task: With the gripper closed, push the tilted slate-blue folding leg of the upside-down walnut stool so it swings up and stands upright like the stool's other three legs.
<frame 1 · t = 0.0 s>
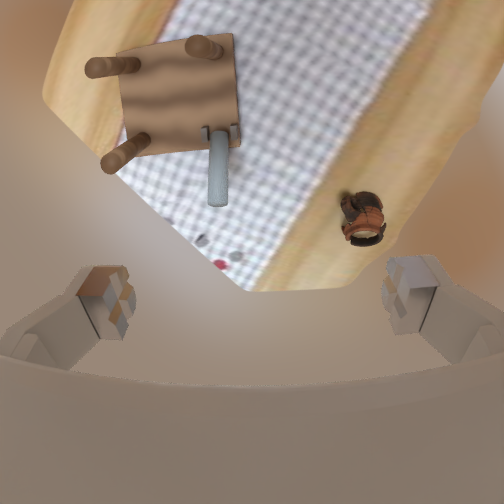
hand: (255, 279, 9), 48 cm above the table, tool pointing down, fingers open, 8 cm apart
hinged leg: (218, 167, 48), point 9 cm above the table, hinge at 45.0°
pottery mug: (356, 209, 60), on the table
stool seat: (179, 95, 49), on the table
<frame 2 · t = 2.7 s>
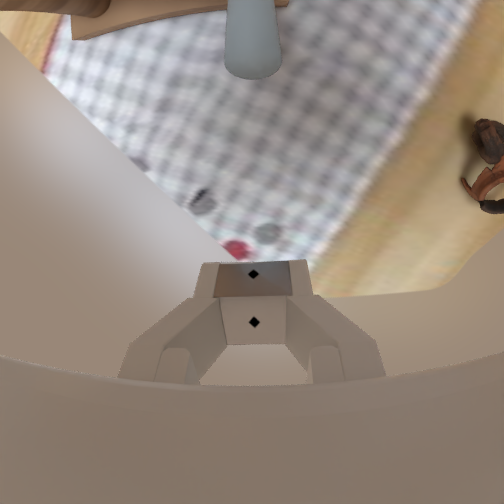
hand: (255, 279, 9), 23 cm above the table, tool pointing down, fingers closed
hinged leg: (251, 5, 16), point 9 cm above the table, hinge at 45.0°
pottery mug: (481, 152, 28), on the table
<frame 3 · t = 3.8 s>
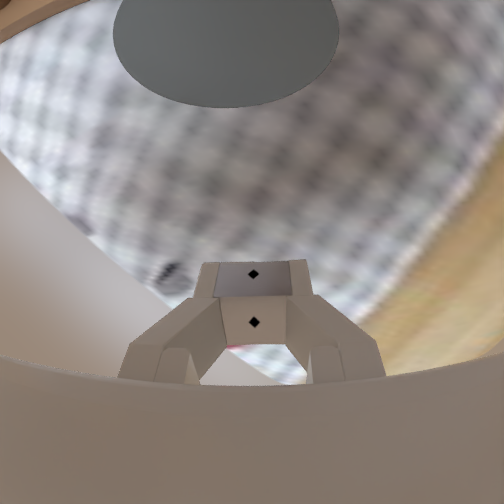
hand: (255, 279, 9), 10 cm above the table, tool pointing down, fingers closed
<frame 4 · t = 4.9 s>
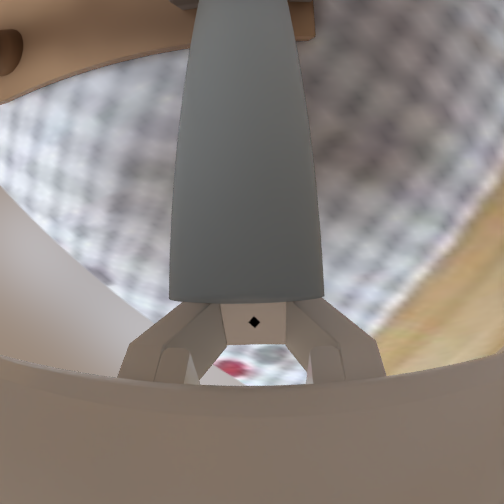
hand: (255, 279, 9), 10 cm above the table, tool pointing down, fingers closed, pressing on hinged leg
hinged leg: (243, 67, 7), point 9 cm above the table, hinge at 44.7°, touching gripper
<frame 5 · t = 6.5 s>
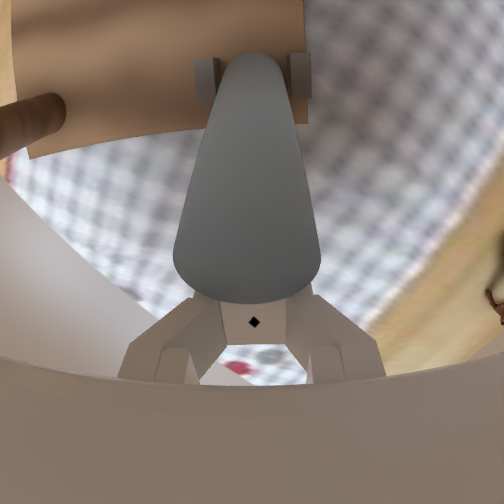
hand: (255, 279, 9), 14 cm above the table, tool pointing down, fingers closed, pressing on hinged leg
hinged leg: (251, 128, 10), point 10 cm above the table, hinge at 16.0°, touching gripper
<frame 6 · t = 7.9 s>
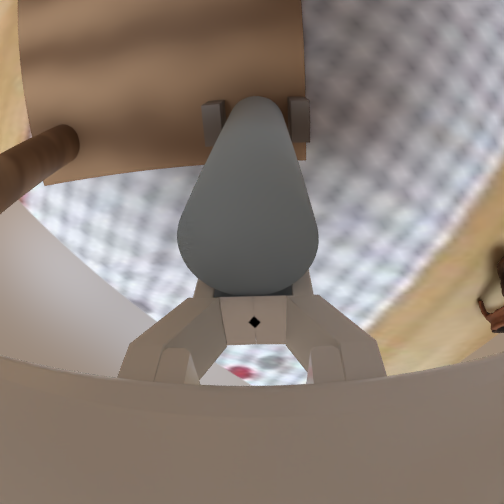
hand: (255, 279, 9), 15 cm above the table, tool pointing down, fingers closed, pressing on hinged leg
hinged leg: (253, 154, 12), point 10 cm above the table, hinge at 2.2°, touching gripper
pottery mug: (502, 271, 27), on the table
stool seat: (149, 29, 17), on the table
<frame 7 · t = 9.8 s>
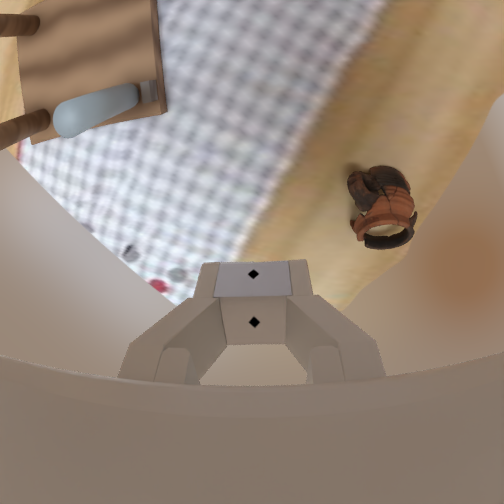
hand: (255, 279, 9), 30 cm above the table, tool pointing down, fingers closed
hinged leg: (102, 105, 24), point 10 cm above the table, hinge at 2.2°
pottery mug: (371, 194, 39), on the table
stool seat: (86, 54, 29), on the table
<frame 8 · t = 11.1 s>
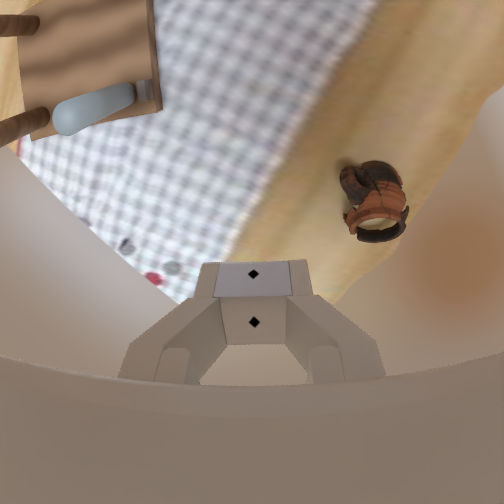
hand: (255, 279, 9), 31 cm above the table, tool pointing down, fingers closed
hinged leg: (99, 104, 25), point 10 cm above the table, hinge at 2.2°
pottery mug: (364, 189, 40), on the table
stool seat: (85, 53, 30), on the table
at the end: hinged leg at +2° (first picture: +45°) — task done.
